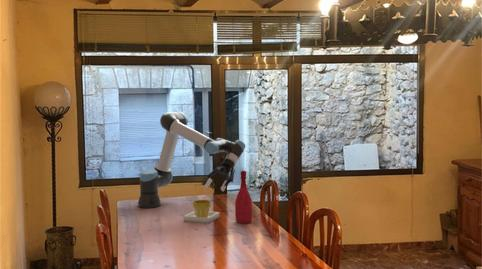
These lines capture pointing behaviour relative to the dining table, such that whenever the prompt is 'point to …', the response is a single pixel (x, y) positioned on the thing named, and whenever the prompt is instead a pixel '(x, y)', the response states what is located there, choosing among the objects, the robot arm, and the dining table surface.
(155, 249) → the dining table surface
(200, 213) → the plant pot
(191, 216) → the white tray
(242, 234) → the dining table surface
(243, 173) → the wine bottle
